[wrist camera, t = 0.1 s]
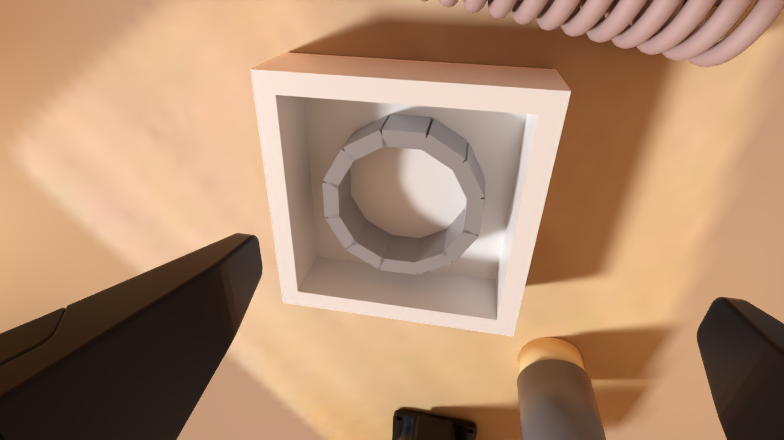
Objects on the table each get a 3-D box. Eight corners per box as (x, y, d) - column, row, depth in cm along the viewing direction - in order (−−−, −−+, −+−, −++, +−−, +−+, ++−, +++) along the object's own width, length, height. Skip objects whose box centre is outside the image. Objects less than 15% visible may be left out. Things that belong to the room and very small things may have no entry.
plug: (575, 386, 30) (602, 511, 23) (510, 376, 30) (518, 494, 24) (592, 340, 28) (628, 464, 21) (521, 330, 28) (533, 447, 21)
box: (509, 288, 27) (513, 336, 23) (306, 261, 28) (282, 302, 25) (556, 69, 20) (571, 91, 16) (286, 52, 22) (250, 69, 18)
